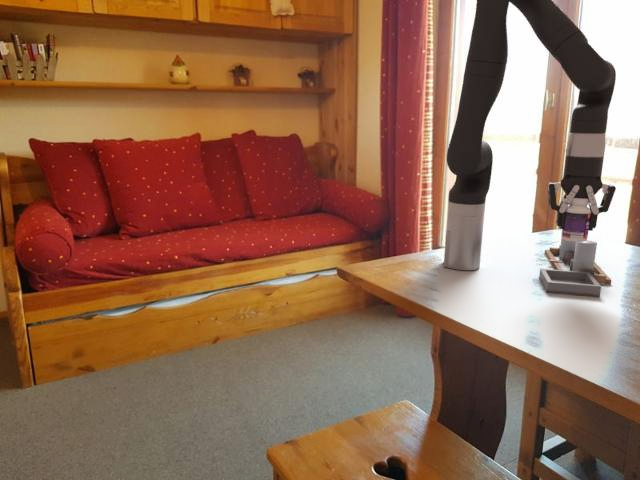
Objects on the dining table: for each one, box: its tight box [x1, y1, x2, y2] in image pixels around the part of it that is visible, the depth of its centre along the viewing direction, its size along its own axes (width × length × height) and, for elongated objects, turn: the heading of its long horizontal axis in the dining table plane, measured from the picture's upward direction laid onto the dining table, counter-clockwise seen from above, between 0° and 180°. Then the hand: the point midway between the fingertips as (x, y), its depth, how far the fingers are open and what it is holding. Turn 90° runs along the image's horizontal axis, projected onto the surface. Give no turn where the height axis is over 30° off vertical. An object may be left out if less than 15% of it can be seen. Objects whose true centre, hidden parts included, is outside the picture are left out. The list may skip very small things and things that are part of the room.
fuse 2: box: [572, 239, 598, 271], centre depth 127 cm, size 5×5×9 cm
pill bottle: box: [560, 198, 591, 242], centre depth 117 cm, size 5×5×10 cm
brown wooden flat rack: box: [544, 245, 612, 286], centre depth 136 cm, size 12×26×3 cm, turn 166°
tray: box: [538, 268, 602, 298], centre depth 120 cm, size 11×11×2 cm
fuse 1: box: [558, 238, 576, 261], centre depth 143 cm, size 5×5×9 cm
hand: (575, 228), depth 117 cm, fingers closed on pill bottle, 5 cm apart
